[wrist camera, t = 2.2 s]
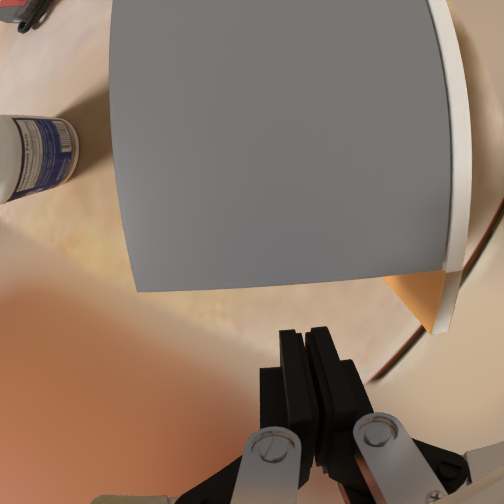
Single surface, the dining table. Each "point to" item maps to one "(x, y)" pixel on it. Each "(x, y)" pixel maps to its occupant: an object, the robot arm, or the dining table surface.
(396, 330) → the dining table surface
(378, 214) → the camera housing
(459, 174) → the side door
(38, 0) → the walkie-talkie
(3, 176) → the pill bottle
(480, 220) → the dining table surface
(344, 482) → the robot arm
